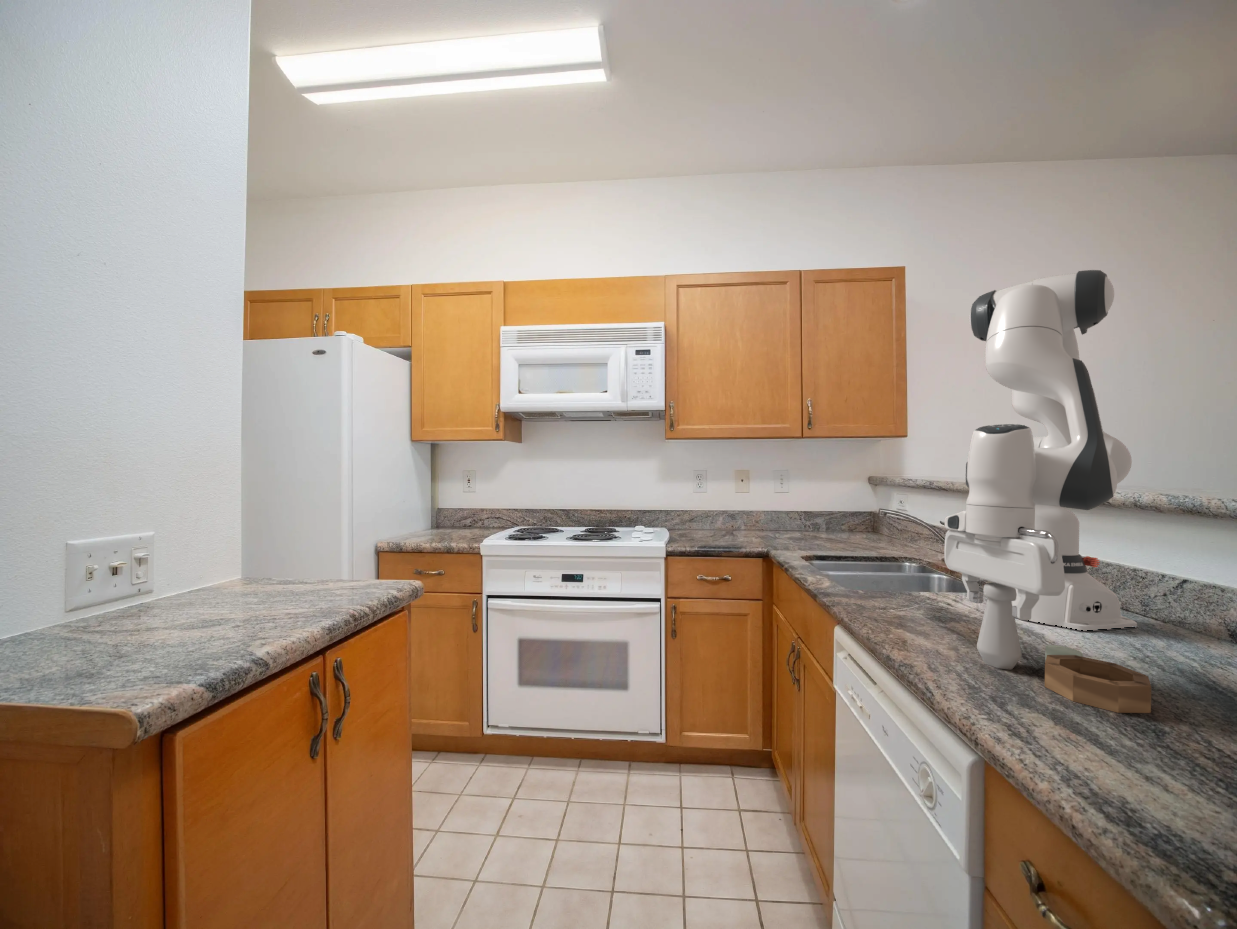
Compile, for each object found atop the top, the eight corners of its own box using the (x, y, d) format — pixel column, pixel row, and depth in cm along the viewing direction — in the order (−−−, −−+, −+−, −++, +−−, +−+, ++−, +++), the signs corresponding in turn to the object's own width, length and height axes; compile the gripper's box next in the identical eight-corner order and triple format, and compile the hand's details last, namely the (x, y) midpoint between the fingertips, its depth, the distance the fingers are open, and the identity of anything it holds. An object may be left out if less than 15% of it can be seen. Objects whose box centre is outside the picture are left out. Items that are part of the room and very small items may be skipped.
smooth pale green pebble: (1064, 663, 81) (1064, 645, 81) (1090, 674, 77) (1090, 655, 77) (1037, 663, 81) (1038, 644, 81) (1062, 674, 76) (1062, 655, 76)
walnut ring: (1094, 678, 75) (1094, 655, 75) (1173, 713, 64) (1174, 686, 64) (1026, 677, 75) (1026, 654, 75) (1095, 712, 64) (1095, 685, 64)
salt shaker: (1029, 673, 76) (1031, 589, 76) (988, 669, 77) (989, 587, 77) (1008, 659, 82) (1009, 581, 82) (969, 655, 83) (971, 579, 83)
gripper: (1080, 532, 69) (1077, 631, 69) (972, 518, 89) (970, 594, 89) (1035, 531, 69) (1033, 630, 69) (937, 517, 89) (935, 593, 89)
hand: (996, 610), depth 79 cm, fingers open, 8 cm apart
